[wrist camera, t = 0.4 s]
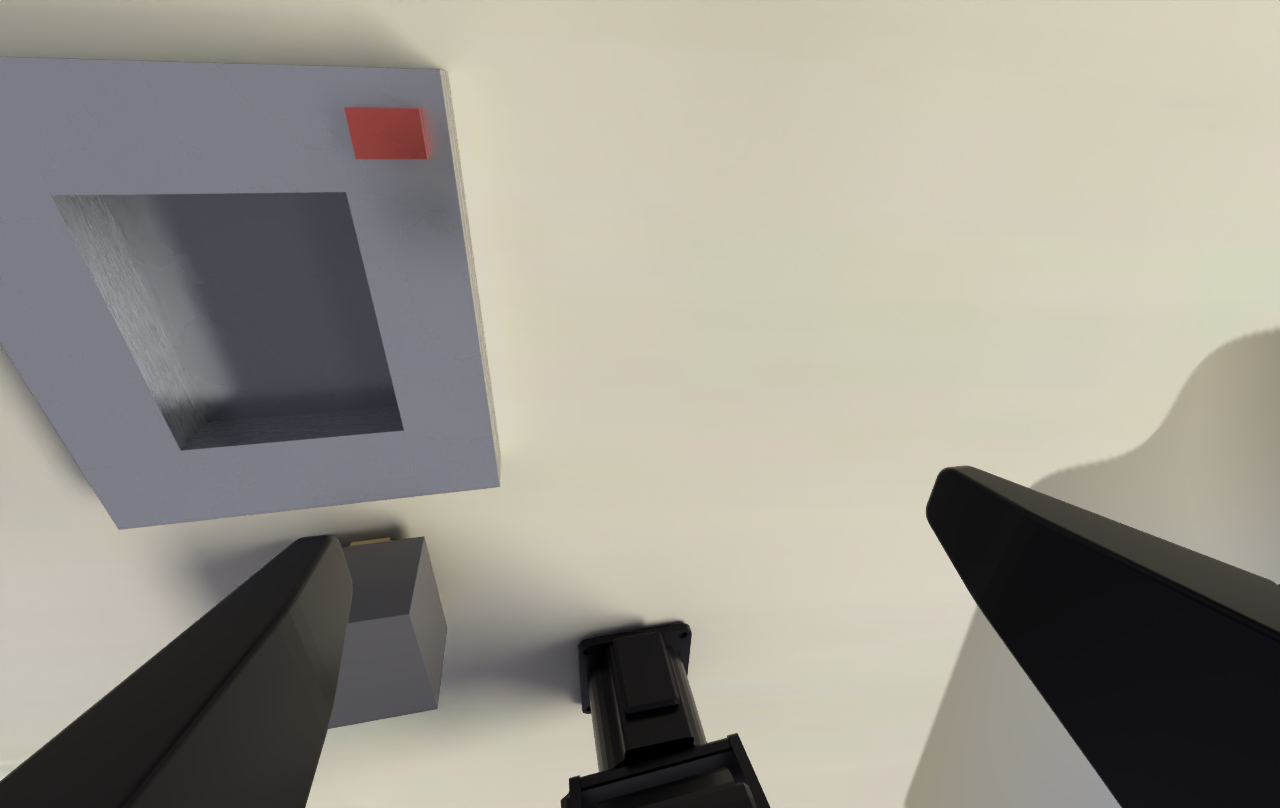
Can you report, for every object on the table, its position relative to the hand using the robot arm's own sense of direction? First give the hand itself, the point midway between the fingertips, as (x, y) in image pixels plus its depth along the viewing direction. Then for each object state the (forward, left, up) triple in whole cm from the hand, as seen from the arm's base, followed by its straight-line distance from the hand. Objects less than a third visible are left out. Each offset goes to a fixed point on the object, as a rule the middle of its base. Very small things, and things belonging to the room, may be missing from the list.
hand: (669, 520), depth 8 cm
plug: (-14, +10, -14) cm, 22 cm away
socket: (-1, +10, -14) cm, 17 cm away
